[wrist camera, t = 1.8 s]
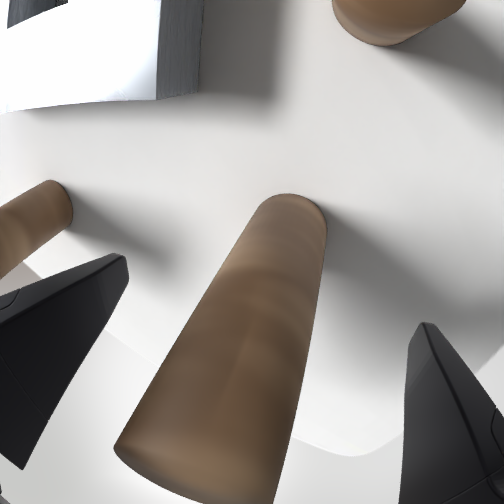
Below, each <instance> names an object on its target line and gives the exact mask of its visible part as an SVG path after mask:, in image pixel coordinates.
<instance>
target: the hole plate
mask: <svg viewBox="0 0 504 504" xmlns="http://www.w3.org/2000/svg"><path fill="white" fill-rule="evenodd" d="M55 6H56V0H0V114H1V113H6V112H12V111H18V110H25V109H31V108H39V107H46V106H55V105H64V104H75V103H87V102H102V101H125V100H159V99H163V98H168V97H173V96H179V95H184V94H190V93H196V92H198V76H199V59H200V44H201V30H202V18H203V7H204V0H69V2H68V3H67V4H65V5H62V6H59V7H57V8H55Z"/></svg>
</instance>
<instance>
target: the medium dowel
mask: <svg viewBox="0 0 504 504" xmlns="http://www.w3.org/2000/svg"><path fill="white" fill-rule="evenodd" d="M72 217H73V210H72V205H71V201H70V199H69V197H68V195H67V193H66V191H65V190H64V189H63V187H62V186H61V185H60V184H58V183H57V182H55V181H53V180H47V181H45V182H43V183H41V184H39V185H37V186H35V187H34V188H32V189H30V190H28V191H26V192H25V193H23V194H21V195H19V196H18V197H16V198H14V199H13V200H11V201H9V202H8V203H6V204H4V205H3V206H1V207H0V279H2V278H3V277H4V276H5V275H6V274H7V273H9V272H10V271H11V270H12V269H13V268H15V267H16V266H17V265H18V264H19V263H21V262H22V261H23V260H24V259H26V258H27V257H28V256H29V255H31V254H32V253H33V252H35V251H36V250H37V249H38V248H40V247H41V246H42V245H44V244H45V243H46V242H48V241H49V240H50V239H52V238H53V237H54V236H56V235H57V234H58V233H60V232H61V231H62V230H64V229H65V228H66V227H68V226H69V225H70V223H71V221H72Z"/></svg>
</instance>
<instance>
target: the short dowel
mask: <svg viewBox="0 0 504 504" xmlns="http://www.w3.org/2000/svg"><path fill="white" fill-rule="evenodd" d="M465 2H466V0H332V6H333V11H334V14H335V16H336V18H337V20H338V21H339V23H340V24H341V26H342V27H343V28H344V29H345V30H346V31H347V32H348V33H349V34H351V35H352V36H354V37H355V38H357V39H359V40H361V41H363V42H365V43H368V44H372V45H377V46H391V45H396V44H399V43H401V42H403V41H405V40H407V39H408V38H410V37H412V36H414V35H415V34H417V33H419V32H421V31H423V30H424V29H426V28H428V27H430V26H432V25H434V24H435V23H437V22H439V21H441V20H443V19H445V18H447V17H449V16H450V15H452V14H454V13H455V12H457V11H458V10H459V9H460V8H461V7H462V6H463V4H464V3H465Z"/></svg>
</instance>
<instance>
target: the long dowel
mask: <svg viewBox="0 0 504 504" xmlns="http://www.w3.org/2000/svg"><path fill="white" fill-rule="evenodd" d="M326 237H327V224H326V221H325V218H324V216H323V214H322V212H321V211H320V209H319V208H318V207H317V206H316V205H315V204H314V203H313V202H311V201H310V200H308V199H306V198H304V197H302V196H299V195H295V194H279V195H275V196H272V197H270V198H268V199H266V200H265V201H264V202H263V203H262V204H261V205H260V206H259V207H258V208H257V210H256V211H255V213H254V215H253V216H252V218H251V219H250V221H249V223H248V224H247V226H246V227H245V229H244V231H243V232H242V234H241V235H240V237H239V239H238V240H237V242H236V243H235V245H234V247H233V248H232V250H231V251H230V253H229V255H228V256H227V258H226V259H225V261H224V263H223V264H222V266H221V268H220V269H219V271H218V272H217V274H216V276H215V277H214V279H213V281H212V282H211V284H210V285H209V287H208V289H207V290H206V292H205V294H204V295H203V297H202V298H201V300H200V302H199V303H198V305H197V307H196V308H195V310H194V312H193V313H192V315H191V317H190V318H189V320H188V321H187V323H186V325H185V326H184V328H183V330H182V331H181V333H180V335H179V336H178V338H177V340H176V341H175V343H174V345H173V346H172V348H171V350H170V351H169V353H168V355H167V356H166V358H165V360H164V361H163V363H162V365H161V366H160V368H159V370H158V372H157V373H156V375H155V377H154V378H153V380H152V382H151V383H150V385H149V387H148V388H147V390H146V392H145V393H144V395H143V397H142V398H141V400H140V402H139V404H138V405H137V407H136V409H135V411H134V412H133V414H132V416H131V417H130V419H129V421H128V422H127V424H126V426H125V428H124V429H123V431H122V433H121V435H120V436H119V438H118V440H117V441H116V443H115V445H114V451H115V453H116V455H117V456H118V457H119V458H120V459H121V460H122V461H123V462H124V463H125V464H126V465H127V466H129V467H130V468H131V469H132V470H134V471H135V472H137V473H138V474H140V475H142V476H143V477H144V478H146V479H148V480H149V481H151V482H153V483H155V484H157V485H158V486H161V487H162V488H164V489H167V490H169V491H171V492H173V493H176V494H178V495H180V496H183V497H186V498H188V499H191V500H194V501H197V502H200V503H203V504H273V501H274V498H275V494H276V491H277V487H278V483H279V479H280V476H281V472H282V468H283V465H284V461H285V456H286V453H287V449H288V445H289V441H290V436H291V432H292V428H293V424H294V419H295V415H296V410H297V406H298V401H299V396H300V392H301V387H302V382H303V377H304V372H305V367H306V362H307V357H308V352H309V346H310V341H311V335H312V330H313V324H314V318H315V312H316V306H317V300H318V294H319V287H320V280H321V274H322V267H323V260H324V252H325V245H326Z"/></svg>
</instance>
